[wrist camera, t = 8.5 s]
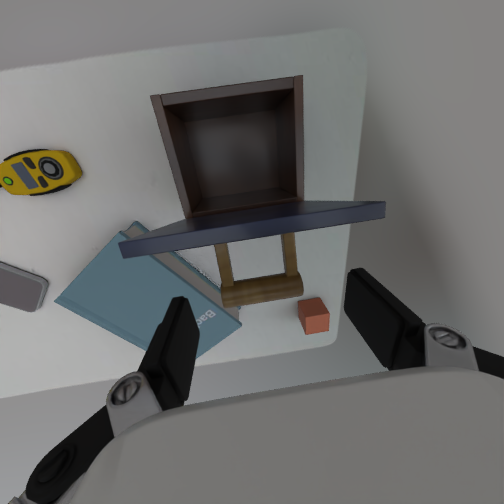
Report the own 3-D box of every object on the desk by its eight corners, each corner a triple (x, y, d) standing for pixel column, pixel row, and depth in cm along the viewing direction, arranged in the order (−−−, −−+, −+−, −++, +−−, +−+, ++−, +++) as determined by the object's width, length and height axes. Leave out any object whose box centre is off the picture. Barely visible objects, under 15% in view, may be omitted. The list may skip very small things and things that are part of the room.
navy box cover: (116, 242, 9) (150, 341, 10) (386, 201, 9) (382, 302, 11) (184, 219, 20) (196, 268, 21) (305, 200, 20) (308, 250, 22)
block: (297, 301, 38) (305, 317, 34) (319, 297, 38) (330, 313, 34) (298, 317, 40) (305, 335, 36) (319, 313, 40) (329, 330, 36)
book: (240, 305, 37) (241, 326, 33) (183, 348, 41) (177, 372, 36) (136, 220, 28) (118, 232, 24) (75, 284, 32) (50, 305, 27)
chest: (177, 116, 23) (149, 95, 16) (279, 102, 24) (303, 74, 16) (199, 203, 28) (186, 221, 20) (284, 191, 28) (304, 203, 21)
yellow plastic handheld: (80, 184, 24) (-33, 216, 24) (90, 182, 26) (-16, 212, 26) (52, 140, 22) (-71, 176, 22) (65, 141, 24) (-49, 175, 24)
